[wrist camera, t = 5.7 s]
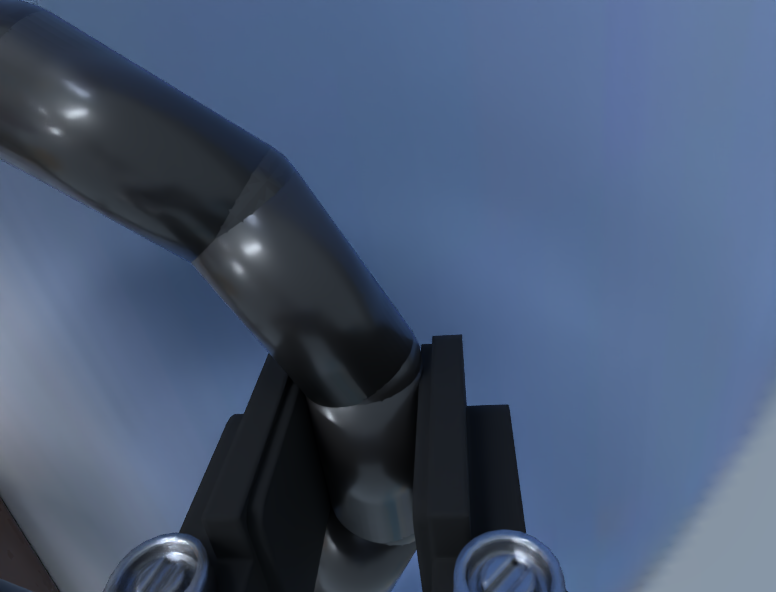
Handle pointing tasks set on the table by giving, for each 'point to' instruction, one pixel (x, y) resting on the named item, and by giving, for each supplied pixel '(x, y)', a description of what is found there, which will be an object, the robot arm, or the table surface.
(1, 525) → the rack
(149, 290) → the table surface
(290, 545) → the robot arm
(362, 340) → the beaded ring
